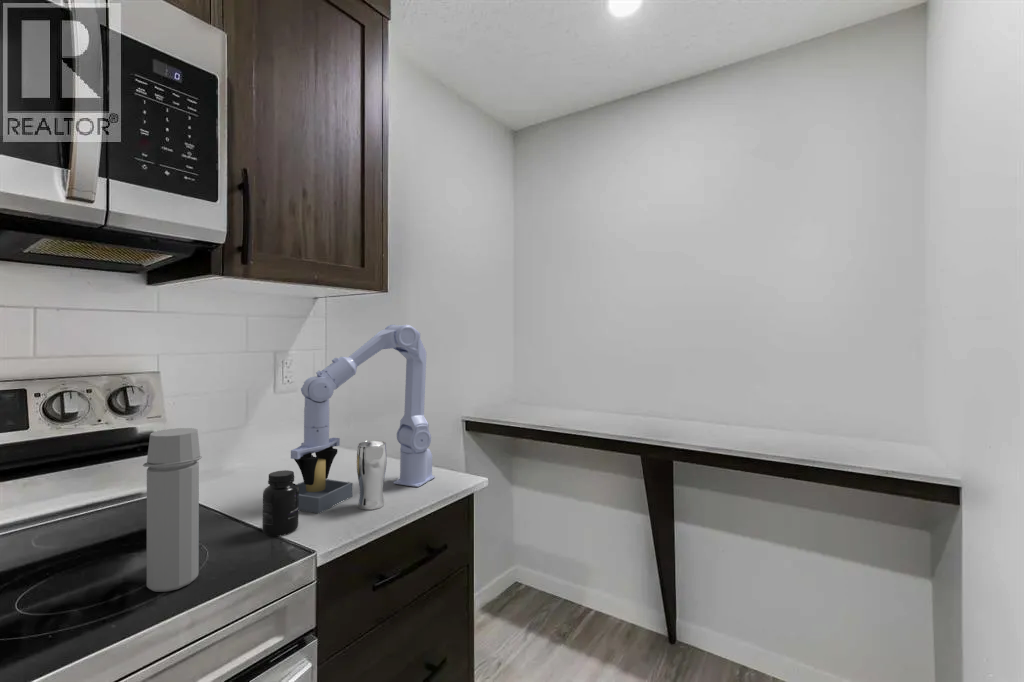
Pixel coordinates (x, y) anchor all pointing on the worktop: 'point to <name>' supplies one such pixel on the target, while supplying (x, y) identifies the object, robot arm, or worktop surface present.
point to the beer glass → (371, 473)
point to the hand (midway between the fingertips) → (316, 481)
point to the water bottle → (172, 509)
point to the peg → (318, 477)
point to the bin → (323, 496)
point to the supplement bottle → (280, 504)
